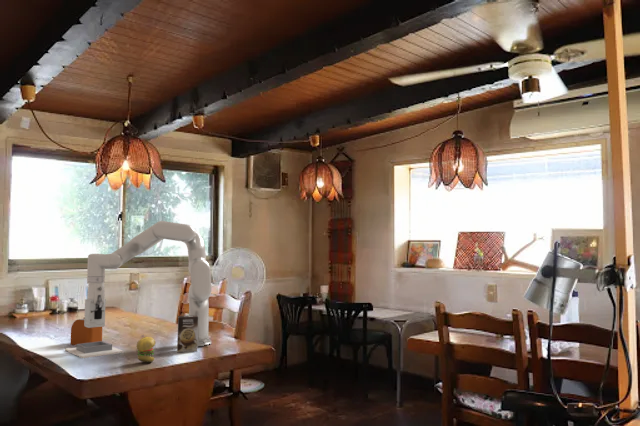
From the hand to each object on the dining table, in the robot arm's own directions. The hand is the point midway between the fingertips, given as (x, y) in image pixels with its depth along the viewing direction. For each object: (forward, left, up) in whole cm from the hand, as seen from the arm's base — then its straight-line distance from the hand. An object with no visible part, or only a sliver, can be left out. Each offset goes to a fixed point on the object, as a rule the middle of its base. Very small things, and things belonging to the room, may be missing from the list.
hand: (94, 318), depth 240 cm
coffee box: (-29, -32, -16) cm, 46 cm away
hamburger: (-40, -7, -16) cm, 44 cm away
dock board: (0, 0, -15) cm, 15 cm away
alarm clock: (+21, -4, -16) cm, 27 cm away
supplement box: (0, 0, -4) cm, 4 cm away
